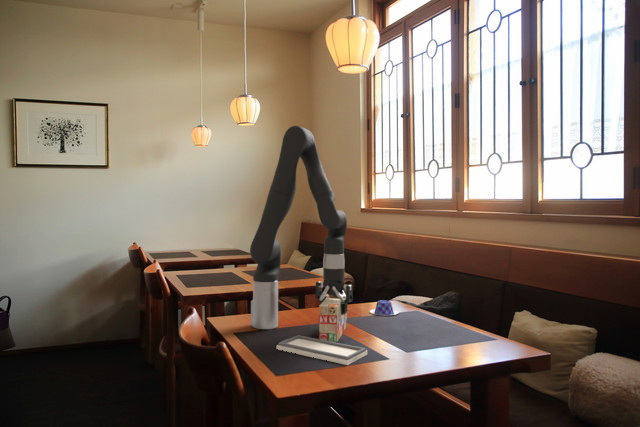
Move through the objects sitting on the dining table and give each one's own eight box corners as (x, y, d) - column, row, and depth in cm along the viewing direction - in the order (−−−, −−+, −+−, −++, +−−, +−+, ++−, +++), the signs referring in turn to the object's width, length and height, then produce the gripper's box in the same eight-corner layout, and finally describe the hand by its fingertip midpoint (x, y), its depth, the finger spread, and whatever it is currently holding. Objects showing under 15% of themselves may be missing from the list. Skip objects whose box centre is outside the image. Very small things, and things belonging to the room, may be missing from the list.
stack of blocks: (330, 325, 186) (330, 293, 185) (347, 326, 184) (347, 293, 184) (318, 341, 165) (318, 304, 164) (337, 342, 163) (337, 305, 163)
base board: (276, 349, 156) (276, 342, 156) (299, 340, 166) (299, 334, 165) (347, 365, 141) (347, 358, 141) (367, 354, 151) (367, 347, 151)
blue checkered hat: (363, 313, 208) (363, 300, 207) (382, 309, 216) (382, 297, 215) (385, 318, 199) (385, 305, 198) (404, 314, 207) (404, 301, 206)
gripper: (311, 266, 174) (310, 312, 175) (345, 269, 166) (345, 317, 167) (322, 263, 180) (322, 308, 181) (356, 266, 172) (356, 313, 173)
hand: (333, 312), depth 174 cm, fingers closed on stack of blocks, 7 cm apart
